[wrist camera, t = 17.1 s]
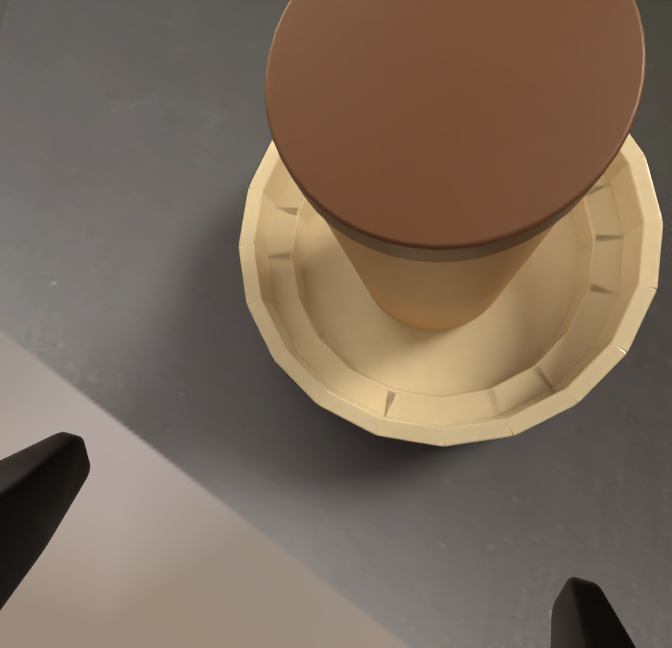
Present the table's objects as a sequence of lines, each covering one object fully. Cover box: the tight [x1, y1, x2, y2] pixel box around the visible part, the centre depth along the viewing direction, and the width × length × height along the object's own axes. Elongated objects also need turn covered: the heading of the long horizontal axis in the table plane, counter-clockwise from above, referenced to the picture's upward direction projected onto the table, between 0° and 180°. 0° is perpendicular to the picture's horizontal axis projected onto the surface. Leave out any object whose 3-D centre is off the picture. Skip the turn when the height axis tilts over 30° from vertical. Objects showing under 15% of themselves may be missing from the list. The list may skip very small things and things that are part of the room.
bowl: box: [239, 134, 663, 447], centre depth 20 cm, size 14×14×4 cm
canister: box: [265, 0, 646, 330], centre depth 15 cm, size 6×6×13 cm
